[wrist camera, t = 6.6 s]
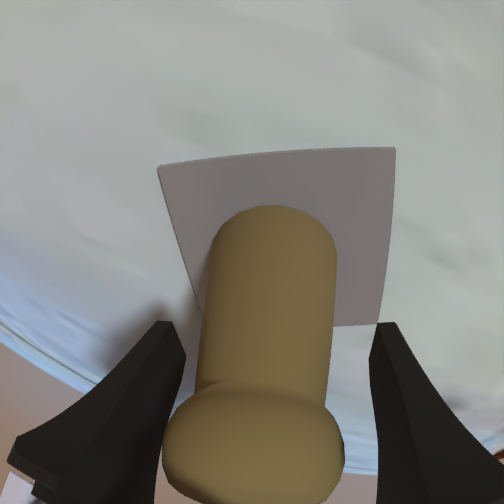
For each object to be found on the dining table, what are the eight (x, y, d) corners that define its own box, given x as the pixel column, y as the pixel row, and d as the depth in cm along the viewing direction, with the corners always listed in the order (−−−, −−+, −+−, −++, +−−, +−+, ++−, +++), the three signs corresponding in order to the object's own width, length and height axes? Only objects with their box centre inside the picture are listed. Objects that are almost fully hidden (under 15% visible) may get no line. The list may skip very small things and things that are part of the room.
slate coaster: (374, 309, 18) (377, 323, 17) (211, 313, 20) (206, 327, 19) (388, 141, 12) (395, 149, 11) (166, 159, 14) (157, 167, 13)
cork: (211, 299, 17) (157, 503, 8) (210, 197, 14) (100, 460, 5) (322, 312, 17) (325, 522, 8) (350, 214, 13) (403, 492, 4)
